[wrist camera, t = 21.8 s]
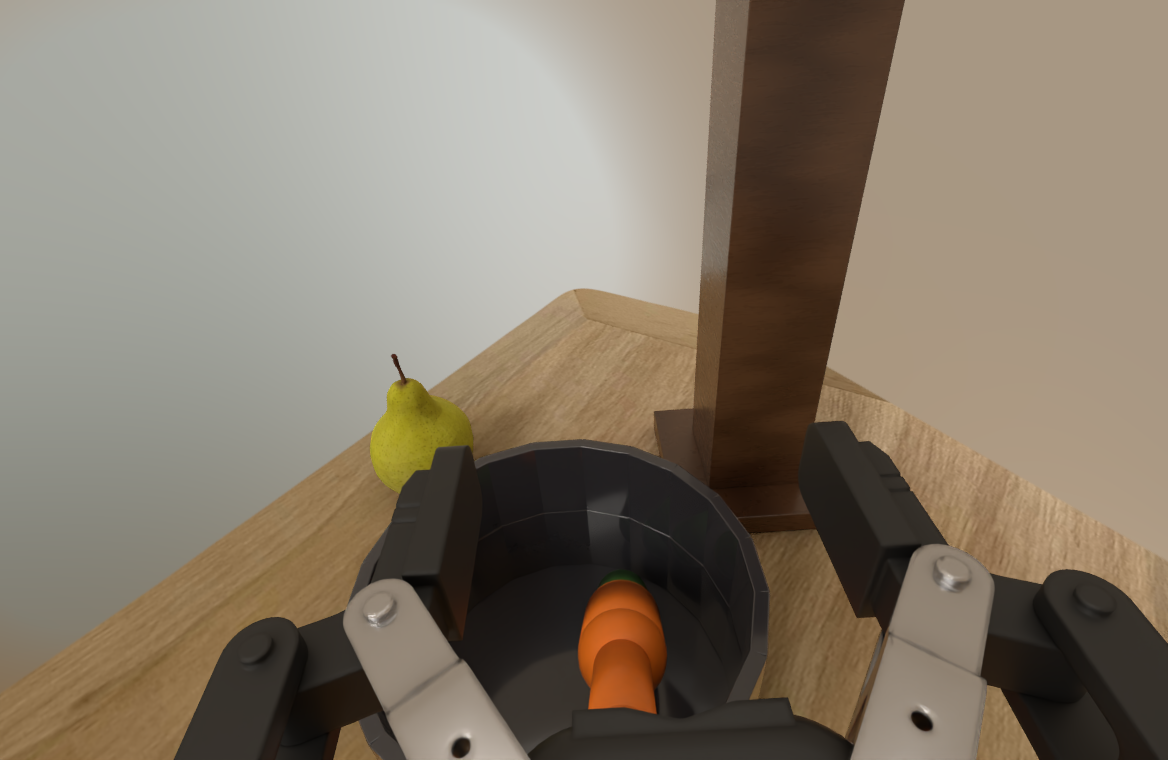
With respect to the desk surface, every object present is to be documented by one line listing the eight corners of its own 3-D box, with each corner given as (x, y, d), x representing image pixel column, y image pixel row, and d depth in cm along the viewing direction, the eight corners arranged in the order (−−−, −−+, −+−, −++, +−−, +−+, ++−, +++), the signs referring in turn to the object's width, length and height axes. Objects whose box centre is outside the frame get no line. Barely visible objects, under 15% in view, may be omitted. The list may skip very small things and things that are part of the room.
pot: (705, 554, 35) (716, 429, 29) (791, 909, 22) (842, 807, 16) (441, 571, 35) (400, 450, 29) (366, 931, 22) (264, 840, 16)
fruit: (390, 457, 44) (342, 321, 37) (479, 442, 45) (448, 305, 38) (382, 526, 38) (323, 381, 32) (484, 507, 39) (448, 361, 32)
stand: (794, 416, 45) (900, -154, 26) (851, 526, 36) (1079, -223, 17) (653, 425, 45) (656, -134, 26) (675, 538, 36) (704, -190, 17)
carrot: (667, 597, 32) (628, 543, 32) (715, 785, 15) (635, 671, 16) (615, 635, 32) (577, 581, 32) (608, 863, 15) (530, 748, 16)
